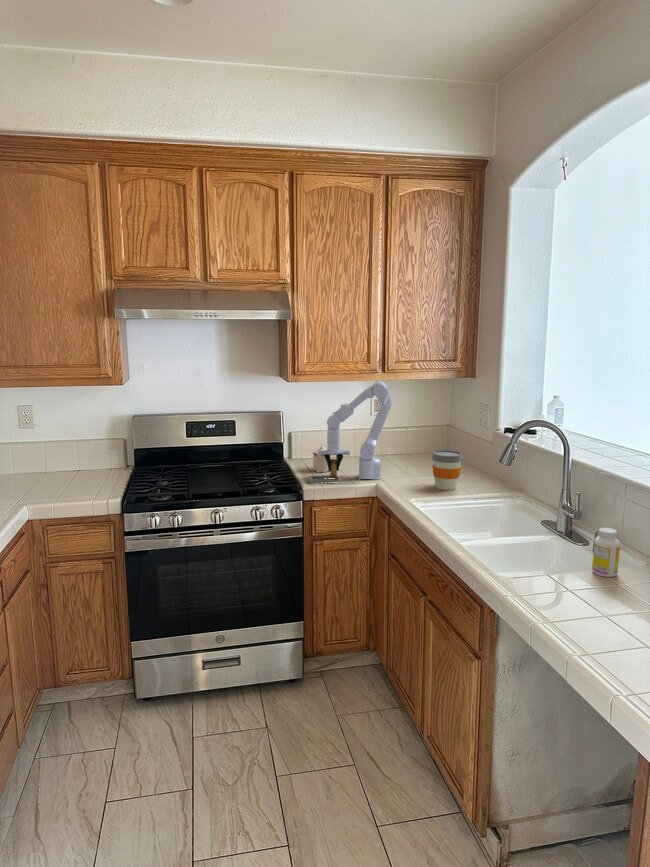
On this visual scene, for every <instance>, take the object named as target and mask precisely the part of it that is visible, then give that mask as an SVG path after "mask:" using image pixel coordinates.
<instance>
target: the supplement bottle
mask: <svg viewBox="0 0 650 867" xmlns="http://www.w3.org/2000/svg"><path fill="white" fill-rule="evenodd" d="M617 535H618V530H616V529H614V528H611V527H600V528H598V536H596V537H595V538H594V542H593V554H592V566H591V567H592V568H591V570H592V572H593V573H594V574H595V575H597V576H601V577H603V578H613V577H616V576H617V575H618V571H619V559H620V549H621V542H620V540H619V539H617V537H618V536H617Z"/></svg>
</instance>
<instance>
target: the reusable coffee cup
mask: <svg viewBox="0 0 650 867" xmlns="http://www.w3.org/2000/svg"><path fill="white" fill-rule="evenodd" d="M431 460H432V463H433V464H432V474H433V477H434V485H435V488H436V489H438V490H441V489H443V490H444V491H452V490H453V489H454V490H456V489H457V486H458V480H459V478H460V476H461V469H462V465H461V464H462V461H463V454H462V452H460V451H456V450H448V449H446V450H445V449H443V450H442V449H441V450H440V449H439V450H434V451H432V458H431ZM443 490H442V491H443Z"/></svg>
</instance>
